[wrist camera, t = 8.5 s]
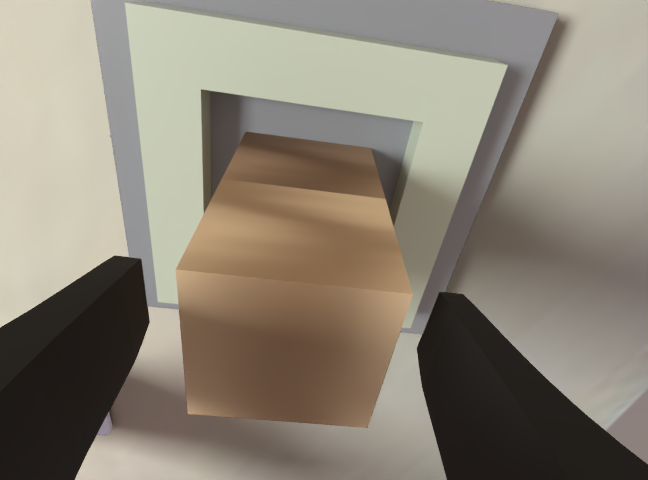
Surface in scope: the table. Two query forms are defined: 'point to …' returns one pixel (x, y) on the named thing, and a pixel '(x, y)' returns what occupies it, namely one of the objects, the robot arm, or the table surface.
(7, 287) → the table surface
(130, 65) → the plate
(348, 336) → the tan block
